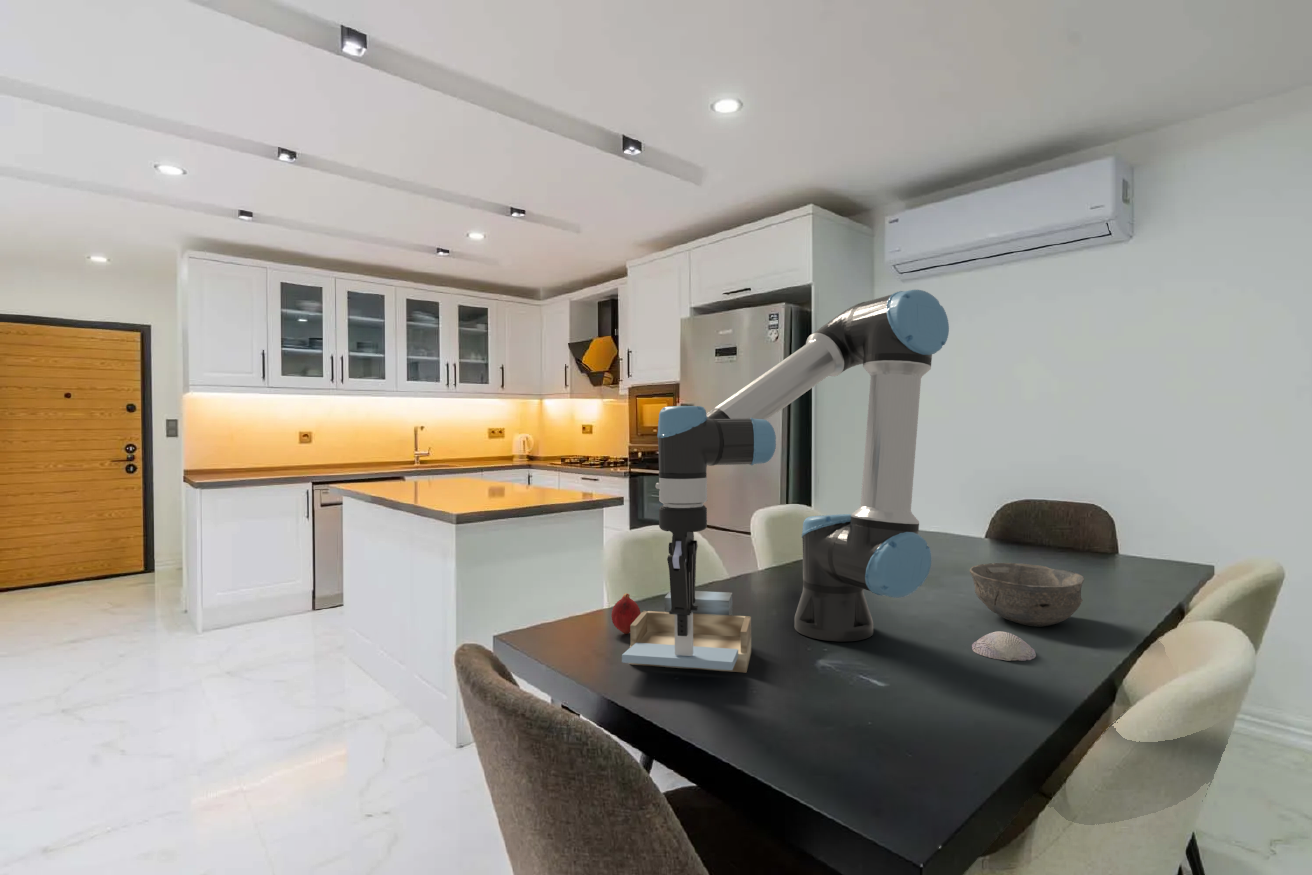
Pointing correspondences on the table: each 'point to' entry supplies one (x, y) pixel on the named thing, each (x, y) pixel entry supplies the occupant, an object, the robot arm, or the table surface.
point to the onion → (625, 613)
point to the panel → (667, 657)
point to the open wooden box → (699, 627)
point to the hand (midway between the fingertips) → (684, 653)
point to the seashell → (1003, 647)
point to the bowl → (1028, 592)
